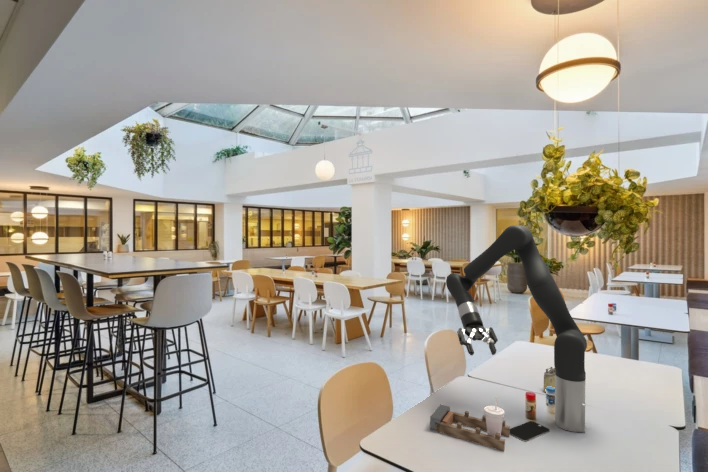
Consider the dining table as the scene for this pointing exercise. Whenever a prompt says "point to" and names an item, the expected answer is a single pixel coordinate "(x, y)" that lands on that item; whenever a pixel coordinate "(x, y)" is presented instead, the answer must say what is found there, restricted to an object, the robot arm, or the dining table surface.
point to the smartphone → (528, 431)
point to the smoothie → (494, 419)
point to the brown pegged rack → (472, 435)
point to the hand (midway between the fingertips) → (483, 354)
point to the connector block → (438, 416)
